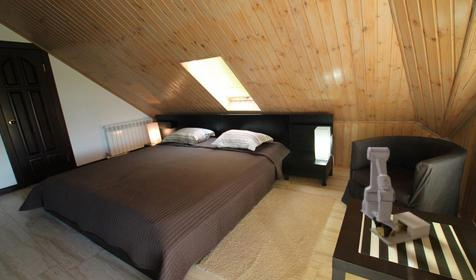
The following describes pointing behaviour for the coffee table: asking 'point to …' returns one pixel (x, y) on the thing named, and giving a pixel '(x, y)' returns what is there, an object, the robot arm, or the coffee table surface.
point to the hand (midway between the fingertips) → (382, 233)
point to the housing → (414, 229)
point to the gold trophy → (400, 226)
